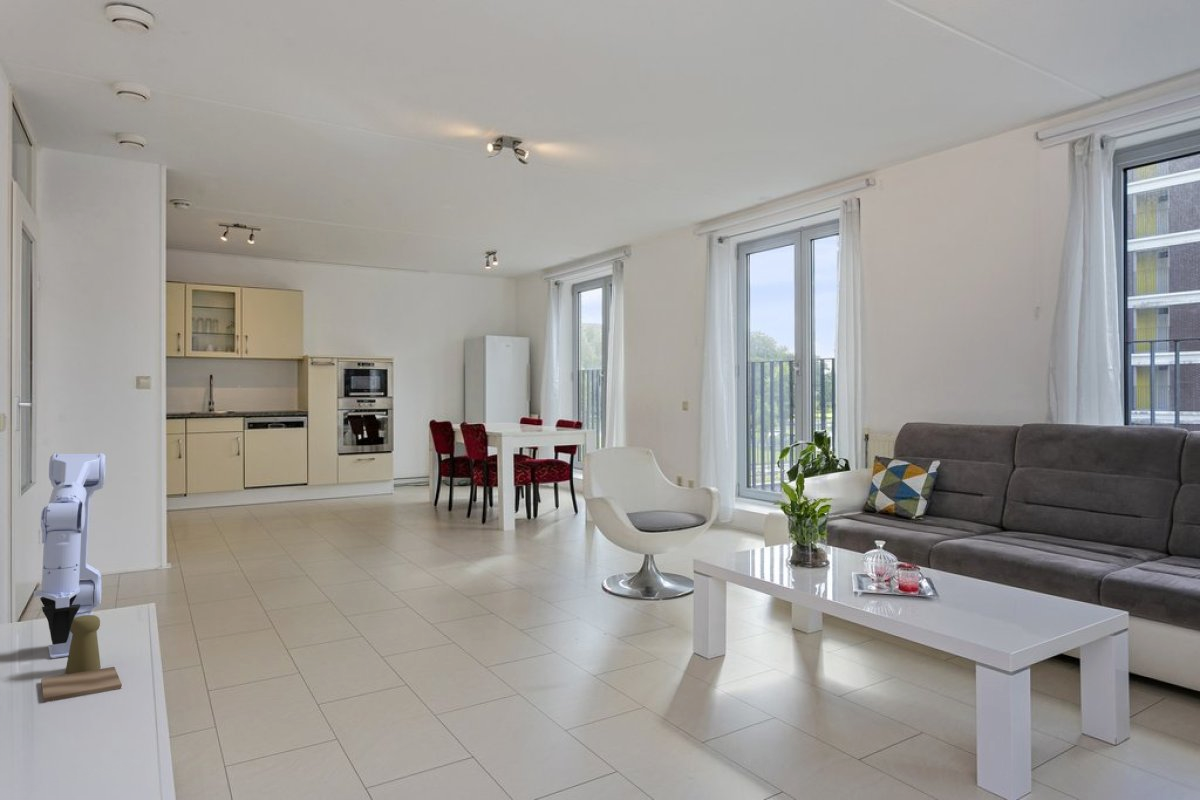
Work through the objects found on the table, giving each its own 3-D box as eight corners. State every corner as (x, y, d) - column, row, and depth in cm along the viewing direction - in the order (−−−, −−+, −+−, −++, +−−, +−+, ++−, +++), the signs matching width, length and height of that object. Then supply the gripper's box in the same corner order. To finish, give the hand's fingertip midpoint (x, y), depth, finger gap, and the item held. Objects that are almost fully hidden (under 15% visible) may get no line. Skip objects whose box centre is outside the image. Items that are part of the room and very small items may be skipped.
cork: (82, 676, 147) (84, 621, 147) (57, 673, 148) (59, 618, 149) (108, 666, 153) (110, 613, 153) (83, 663, 154) (86, 611, 155)
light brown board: (41, 682, 143) (41, 678, 143) (114, 670, 151) (114, 666, 151) (43, 702, 134) (43, 698, 134) (121, 688, 142) (121, 684, 142)
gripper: (33, 561, 142) (30, 631, 142) (36, 575, 131) (32, 652, 130) (78, 557, 146) (75, 626, 146) (84, 571, 135) (81, 645, 135)
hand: (58, 638), depth 139 cm, fingers open, 7 cm apart
